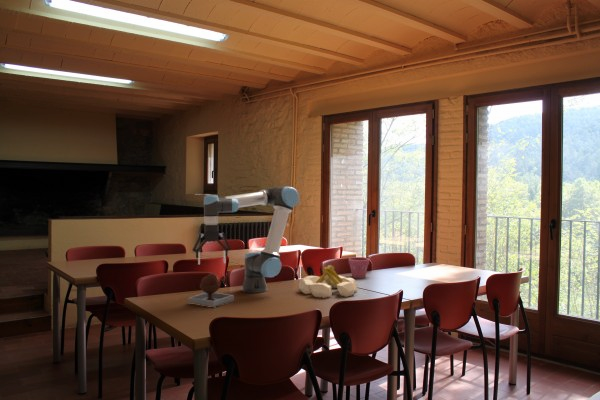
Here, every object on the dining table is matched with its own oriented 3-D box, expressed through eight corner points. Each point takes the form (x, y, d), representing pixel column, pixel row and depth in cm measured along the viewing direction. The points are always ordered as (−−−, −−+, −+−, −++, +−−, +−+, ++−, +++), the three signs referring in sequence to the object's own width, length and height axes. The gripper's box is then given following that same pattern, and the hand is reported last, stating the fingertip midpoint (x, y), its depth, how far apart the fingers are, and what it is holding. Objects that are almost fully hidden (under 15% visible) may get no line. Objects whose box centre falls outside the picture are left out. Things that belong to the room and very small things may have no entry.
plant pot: (358, 274, 355) (358, 256, 354) (373, 277, 344) (373, 258, 344) (344, 276, 346) (344, 258, 345) (359, 279, 335) (359, 260, 334)
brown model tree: (221, 298, 272) (221, 271, 271) (218, 303, 260) (218, 275, 260) (201, 298, 271) (201, 271, 271) (198, 303, 260) (198, 275, 260)
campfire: (308, 300, 275) (309, 269, 275) (292, 288, 308) (292, 260, 307) (366, 296, 285) (367, 267, 284) (345, 285, 317) (345, 258, 317)
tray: (233, 301, 269) (233, 295, 269) (213, 308, 254) (213, 301, 254) (209, 297, 278) (209, 291, 277) (188, 304, 263) (188, 297, 263)
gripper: (187, 225, 258) (188, 266, 259) (235, 224, 265) (236, 263, 265) (187, 224, 265) (187, 263, 266) (233, 222, 272) (234, 261, 273)
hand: (211, 263), depth 266 cm, fingers open, 13 cm apart
